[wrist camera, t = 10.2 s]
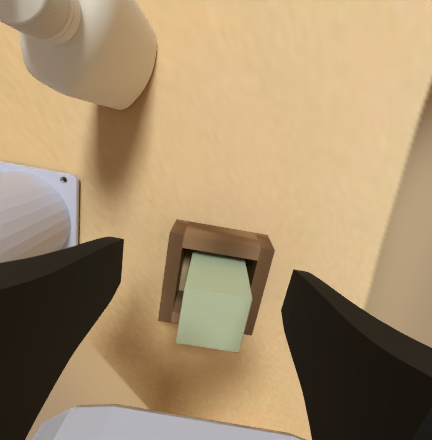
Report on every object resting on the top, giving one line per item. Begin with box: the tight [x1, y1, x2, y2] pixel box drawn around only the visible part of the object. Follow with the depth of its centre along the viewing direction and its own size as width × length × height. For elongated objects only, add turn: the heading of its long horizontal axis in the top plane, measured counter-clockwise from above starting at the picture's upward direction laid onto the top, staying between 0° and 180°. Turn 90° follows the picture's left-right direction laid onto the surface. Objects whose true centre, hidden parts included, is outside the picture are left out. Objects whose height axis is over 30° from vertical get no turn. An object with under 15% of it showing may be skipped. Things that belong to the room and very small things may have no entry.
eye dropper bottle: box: [0, 0, 157, 110], centre depth 12 cm, size 4×6×12 cm
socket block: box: [158, 220, 275, 335], centre depth 21 cm, size 8×8×3 cm
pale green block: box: [176, 250, 252, 353], centre depth 19 cm, size 4×4×7 cm
